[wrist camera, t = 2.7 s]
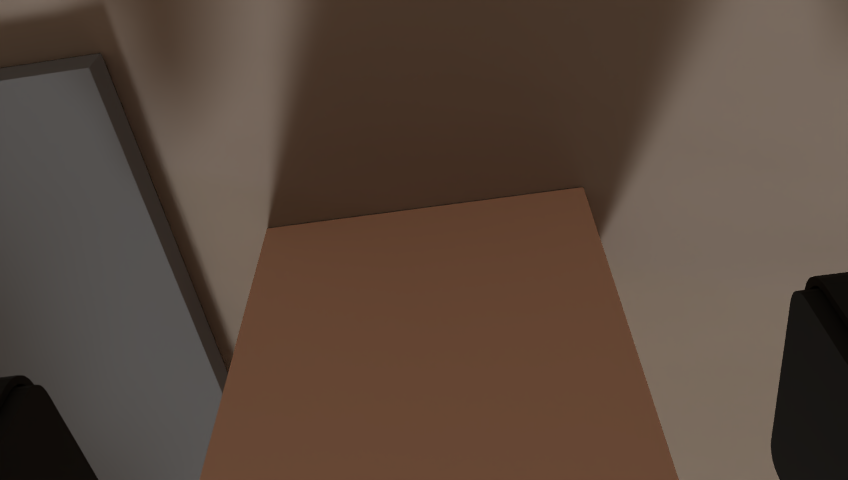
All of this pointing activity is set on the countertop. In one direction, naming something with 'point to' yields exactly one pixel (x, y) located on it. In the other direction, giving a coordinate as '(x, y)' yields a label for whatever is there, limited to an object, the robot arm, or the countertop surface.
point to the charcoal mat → (99, 279)
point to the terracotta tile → (438, 352)
